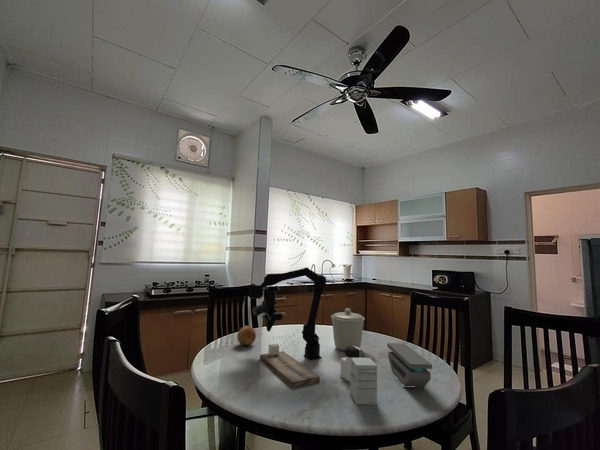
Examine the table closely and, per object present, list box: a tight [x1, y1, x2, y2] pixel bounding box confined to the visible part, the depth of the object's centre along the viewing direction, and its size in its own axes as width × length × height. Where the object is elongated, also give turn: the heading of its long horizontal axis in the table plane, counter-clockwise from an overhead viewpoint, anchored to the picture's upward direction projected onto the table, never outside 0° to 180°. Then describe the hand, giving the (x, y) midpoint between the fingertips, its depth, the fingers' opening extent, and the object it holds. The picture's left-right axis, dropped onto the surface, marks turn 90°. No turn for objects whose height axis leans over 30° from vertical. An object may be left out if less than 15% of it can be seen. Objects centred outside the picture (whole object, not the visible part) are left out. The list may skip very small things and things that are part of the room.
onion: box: [236, 325, 257, 347], centre depth 151 cm, size 10×10×10 cm
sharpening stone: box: [386, 342, 433, 388], centre depth 114 cm, size 25×8×11 cm, turn 2°
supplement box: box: [350, 357, 378, 405], centre depth 98 cm, size 7×7×13 cm
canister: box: [330, 307, 366, 352], centre depth 152 cm, size 18×18×21 cm
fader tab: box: [267, 343, 280, 355], centre depth 133 cm, size 4×3×4 cm
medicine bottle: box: [340, 346, 361, 383], centre depth 114 cm, size 7×7×12 cm
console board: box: [259, 350, 321, 389], centre depth 120 cm, size 12×32×2 cm, turn 30°
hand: (268, 331), depth 140 cm, fingers closed
